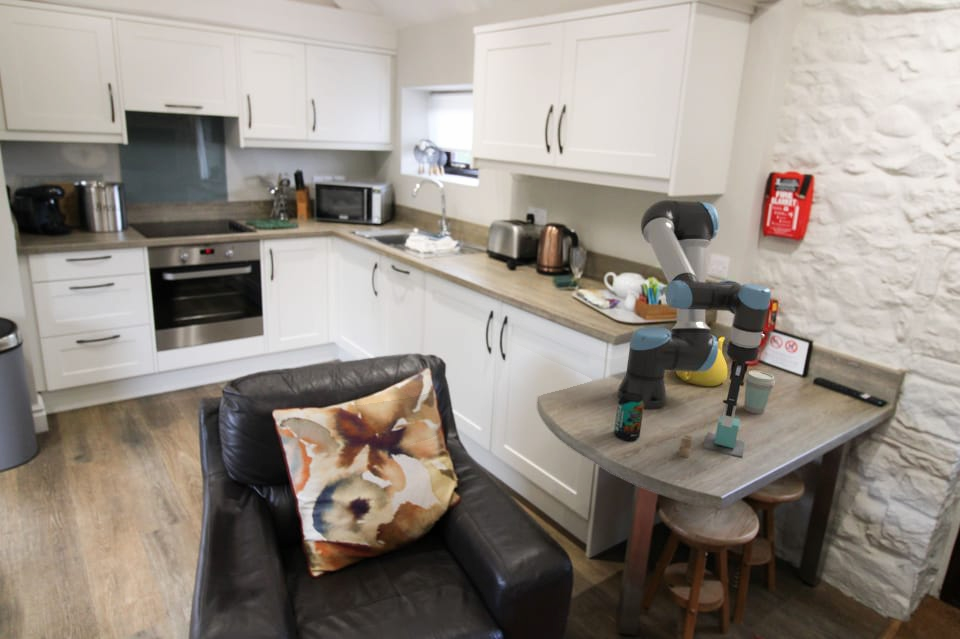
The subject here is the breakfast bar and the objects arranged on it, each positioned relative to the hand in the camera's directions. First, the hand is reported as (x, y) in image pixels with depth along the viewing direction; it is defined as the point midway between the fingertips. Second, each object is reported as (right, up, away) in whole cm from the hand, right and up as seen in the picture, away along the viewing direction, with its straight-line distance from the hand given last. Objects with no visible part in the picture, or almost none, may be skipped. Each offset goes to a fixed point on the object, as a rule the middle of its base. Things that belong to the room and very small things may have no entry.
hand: (728, 415), depth 171 cm
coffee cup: (+19, -2, +27) cm, 33 cm away
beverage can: (-27, -6, +3) cm, 28 cm away
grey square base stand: (-1, -8, +2) cm, 9 cm away
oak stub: (-14, -9, -5) cm, 17 cm away
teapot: (+11, +5, +52) cm, 54 cm away
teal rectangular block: (0, -7, +2) cm, 8 cm away
